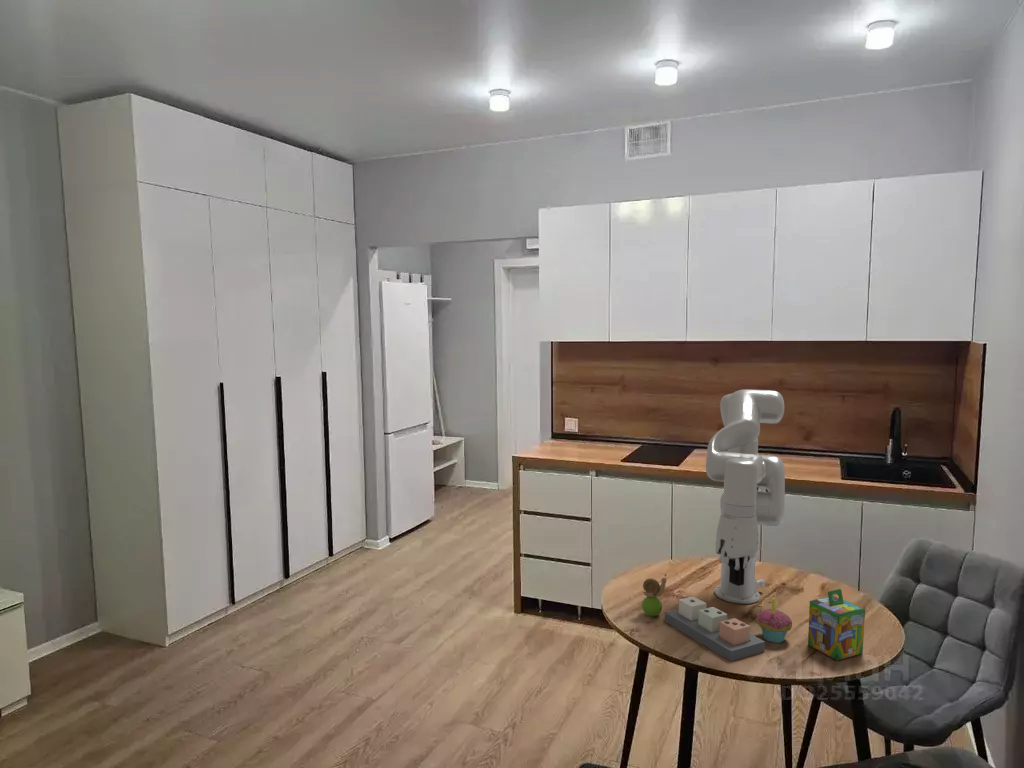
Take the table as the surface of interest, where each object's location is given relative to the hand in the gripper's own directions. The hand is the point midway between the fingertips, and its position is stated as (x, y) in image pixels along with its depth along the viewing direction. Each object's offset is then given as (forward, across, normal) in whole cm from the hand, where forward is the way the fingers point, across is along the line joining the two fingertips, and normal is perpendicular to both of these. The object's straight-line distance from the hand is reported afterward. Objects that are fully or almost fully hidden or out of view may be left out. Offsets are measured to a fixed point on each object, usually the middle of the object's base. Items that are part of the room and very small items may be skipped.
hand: (736, 583), depth 163 cm
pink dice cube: (+14, 0, 0) cm, 14 cm away
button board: (+16, 0, -8) cm, 18 cm away
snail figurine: (+17, +6, -24) cm, 30 cm away
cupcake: (+17, -13, 0) cm, 21 cm away
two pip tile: (+14, 0, -8) cm, 16 cm away
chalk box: (+17, -22, +11) cm, 30 cm away
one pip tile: (+14, 0, -15) cm, 21 cm away
